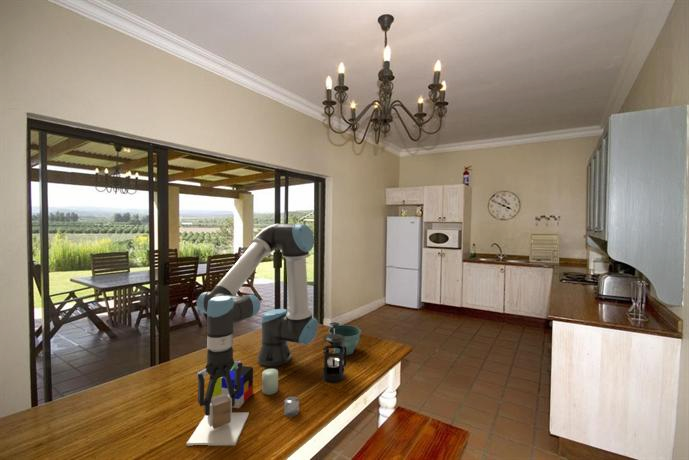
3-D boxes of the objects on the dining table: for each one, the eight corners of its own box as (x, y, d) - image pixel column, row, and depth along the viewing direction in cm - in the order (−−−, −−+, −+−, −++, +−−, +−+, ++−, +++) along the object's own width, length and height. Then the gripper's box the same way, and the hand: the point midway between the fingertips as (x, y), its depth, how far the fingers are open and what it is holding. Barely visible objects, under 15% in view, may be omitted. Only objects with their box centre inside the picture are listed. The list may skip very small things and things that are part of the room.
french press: (331, 386, 122) (331, 329, 121) (316, 377, 128) (317, 323, 128) (352, 376, 130) (352, 322, 129) (337, 368, 136) (338, 317, 136)
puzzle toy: (238, 408, 106) (238, 380, 106) (213, 404, 108) (213, 377, 108) (252, 392, 116) (252, 367, 116) (229, 389, 118) (229, 364, 118)
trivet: (186, 445, 89) (186, 442, 89) (206, 415, 103) (206, 412, 103) (235, 445, 89) (235, 442, 89) (248, 414, 103) (248, 412, 103)
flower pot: (366, 349, 157) (366, 328, 156) (349, 361, 143) (349, 338, 143) (339, 342, 165) (340, 322, 165) (321, 353, 152) (322, 331, 151)
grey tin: (281, 411, 105) (281, 399, 105) (294, 405, 108) (294, 394, 108) (288, 418, 101) (288, 406, 101) (301, 412, 105) (301, 401, 104)
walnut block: (209, 420, 96) (209, 398, 96) (225, 414, 99) (225, 393, 99) (213, 428, 92) (213, 406, 92) (230, 422, 95) (230, 400, 95)
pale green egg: (259, 389, 119) (259, 371, 118) (273, 384, 122) (273, 367, 122) (266, 396, 114) (266, 378, 114) (280, 391, 118) (280, 373, 118)
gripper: (191, 359, 86) (191, 439, 87) (252, 344, 98) (252, 415, 98) (185, 350, 92) (185, 425, 93) (244, 337, 104) (243, 404, 104)
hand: (219, 420), depth 96 cm, fingers closed on walnut block, 5 cm apart
